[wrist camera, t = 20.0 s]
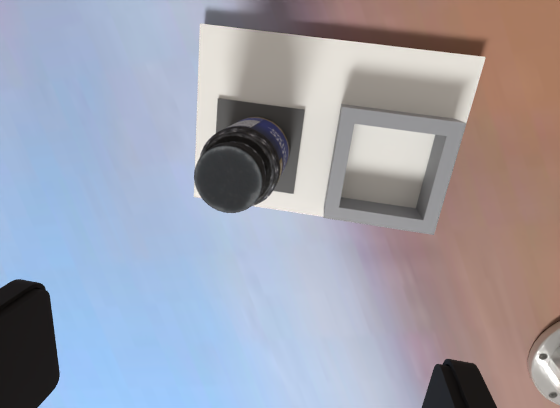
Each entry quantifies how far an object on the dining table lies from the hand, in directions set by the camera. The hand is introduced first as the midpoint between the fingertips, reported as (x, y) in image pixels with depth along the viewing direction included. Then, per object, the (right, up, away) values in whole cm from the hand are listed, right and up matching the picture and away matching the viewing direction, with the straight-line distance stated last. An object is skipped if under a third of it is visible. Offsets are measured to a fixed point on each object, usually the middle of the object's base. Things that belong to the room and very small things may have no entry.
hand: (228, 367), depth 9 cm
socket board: (+5, +11, +26) cm, 29 cm away
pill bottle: (-1, +9, +26) cm, 27 cm away
